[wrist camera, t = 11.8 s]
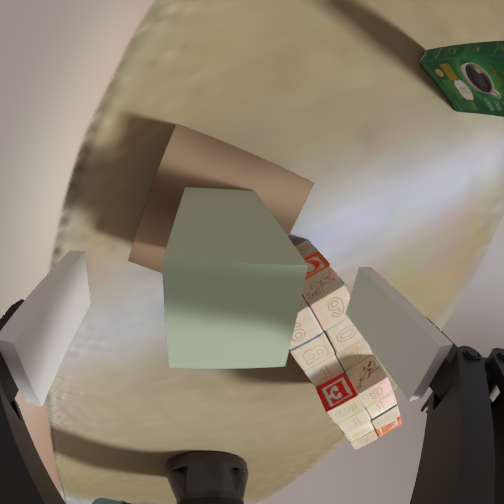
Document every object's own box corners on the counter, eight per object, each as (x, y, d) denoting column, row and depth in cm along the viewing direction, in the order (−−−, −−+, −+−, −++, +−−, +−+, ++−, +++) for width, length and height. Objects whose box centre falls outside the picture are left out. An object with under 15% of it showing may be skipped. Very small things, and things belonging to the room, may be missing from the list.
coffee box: (464, 99, 25) (550, 107, 13) (456, 114, 26) (545, 126, 14) (426, 48, 22) (517, 35, 10) (417, 63, 23) (511, 52, 11)
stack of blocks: (251, 268, 29) (281, 353, 18) (307, 236, 29) (367, 304, 18) (323, 382, 38) (355, 452, 27) (362, 360, 38) (403, 425, 26)
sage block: (248, 254, 23) (284, 366, 12) (183, 251, 22) (169, 367, 11) (255, 191, 21) (307, 265, 10) (185, 187, 20) (162, 260, 10)
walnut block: (246, 275, 30) (254, 302, 25) (139, 238, 26) (128, 260, 22) (295, 173, 26) (314, 182, 22) (181, 125, 23) (176, 123, 19)
